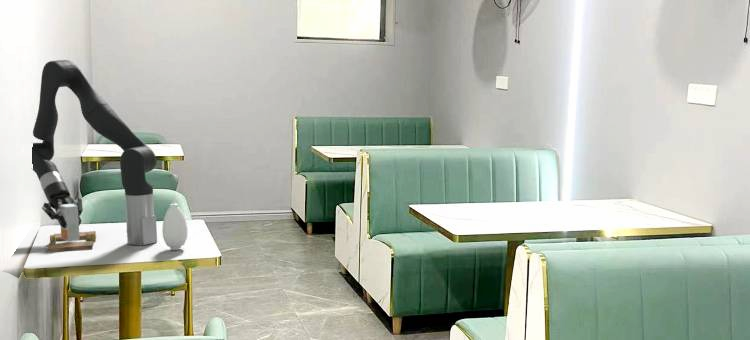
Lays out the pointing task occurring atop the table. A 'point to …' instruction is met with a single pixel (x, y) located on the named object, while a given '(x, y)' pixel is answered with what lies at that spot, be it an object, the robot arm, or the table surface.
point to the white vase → (174, 227)
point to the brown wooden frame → (72, 245)
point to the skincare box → (70, 222)
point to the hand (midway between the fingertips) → (72, 225)
